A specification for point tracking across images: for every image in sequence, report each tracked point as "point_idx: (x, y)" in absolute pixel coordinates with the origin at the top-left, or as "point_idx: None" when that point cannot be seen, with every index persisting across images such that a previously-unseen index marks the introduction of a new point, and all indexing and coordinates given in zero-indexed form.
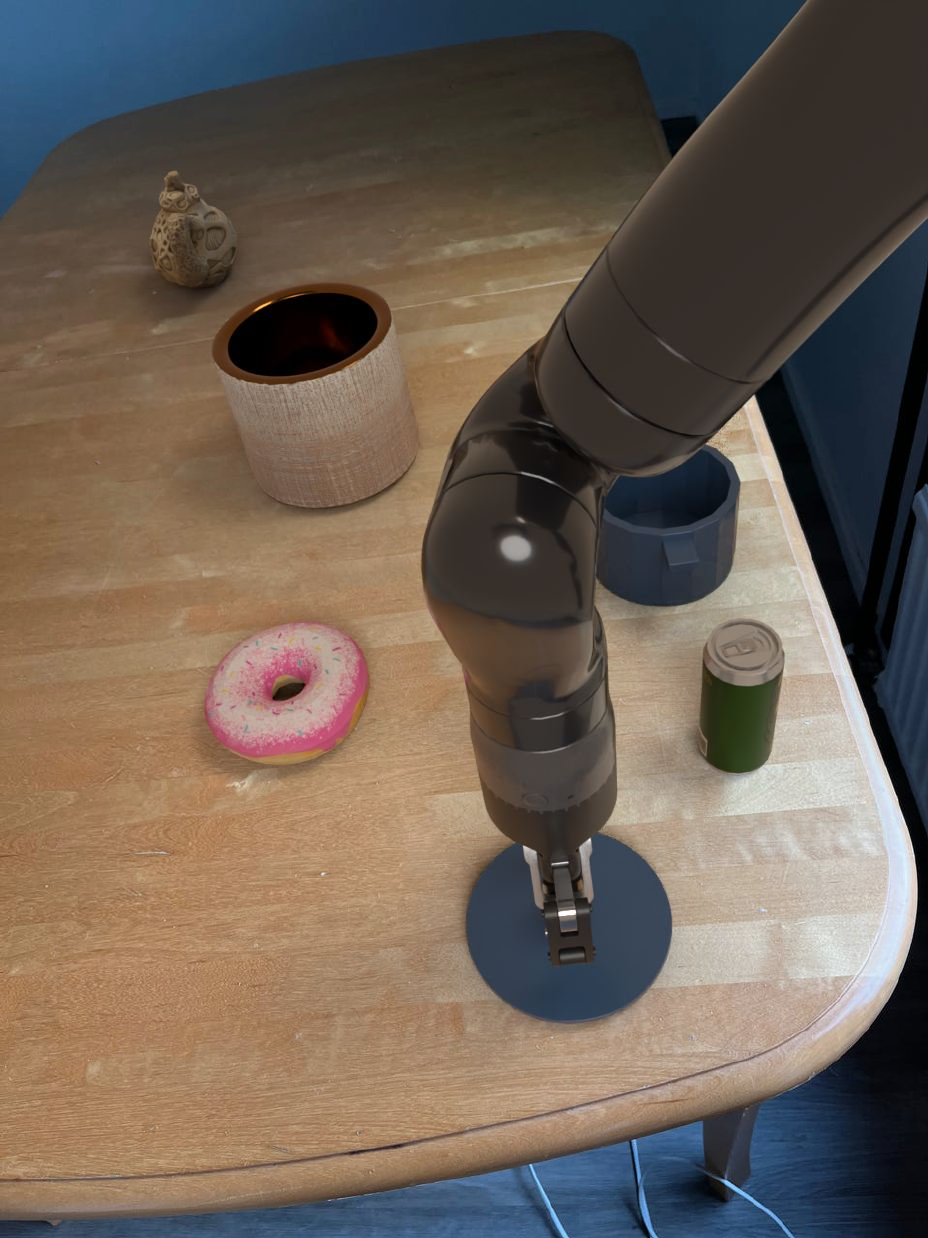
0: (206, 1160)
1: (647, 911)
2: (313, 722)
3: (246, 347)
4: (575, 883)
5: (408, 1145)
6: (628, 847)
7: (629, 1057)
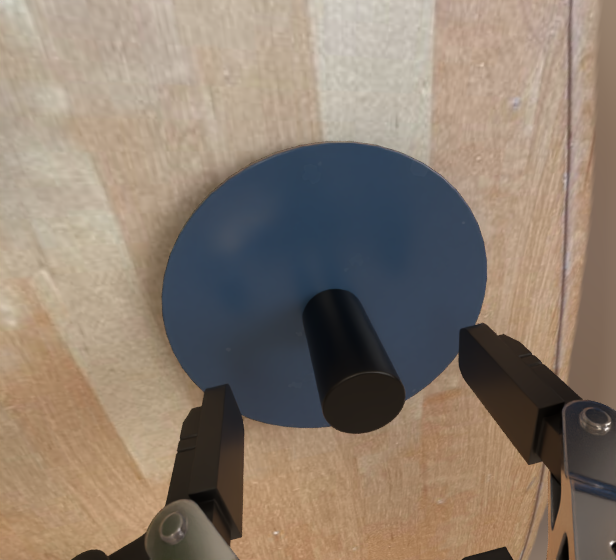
0: (525, 518)
1: (316, 191)
2: None
3: None
4: (565, 534)
5: None
6: (183, 232)
7: (523, 203)
